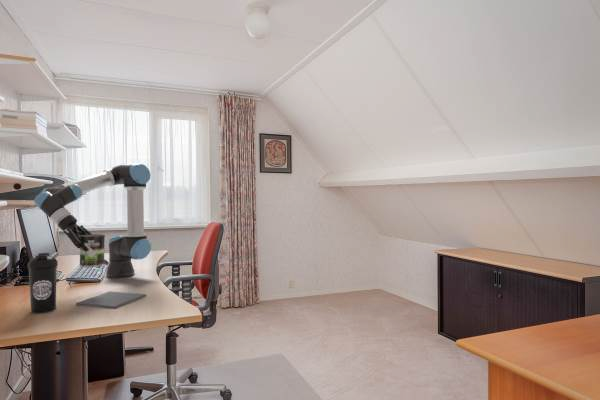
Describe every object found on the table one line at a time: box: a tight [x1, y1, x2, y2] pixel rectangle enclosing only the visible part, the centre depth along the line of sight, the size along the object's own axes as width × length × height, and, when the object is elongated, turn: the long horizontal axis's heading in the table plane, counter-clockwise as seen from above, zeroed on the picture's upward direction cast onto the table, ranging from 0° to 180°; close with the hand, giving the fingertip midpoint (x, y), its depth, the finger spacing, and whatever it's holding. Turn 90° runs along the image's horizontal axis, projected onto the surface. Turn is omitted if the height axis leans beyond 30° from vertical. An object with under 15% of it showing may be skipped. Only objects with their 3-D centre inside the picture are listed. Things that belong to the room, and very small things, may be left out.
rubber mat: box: [75, 291, 147, 309], centre depth 172 cm, size 20×20×1 cm
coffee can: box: [79, 233, 106, 268], centre depth 181 cm, size 10×10×14 cm
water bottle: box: [27, 252, 59, 314], centre depth 158 cm, size 10×10×23 cm
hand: (98, 253), depth 181 cm, fingers closed on coffee can, 10 cm apart
